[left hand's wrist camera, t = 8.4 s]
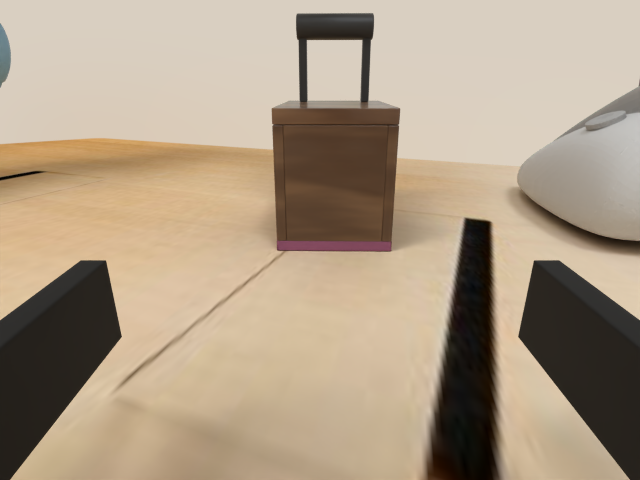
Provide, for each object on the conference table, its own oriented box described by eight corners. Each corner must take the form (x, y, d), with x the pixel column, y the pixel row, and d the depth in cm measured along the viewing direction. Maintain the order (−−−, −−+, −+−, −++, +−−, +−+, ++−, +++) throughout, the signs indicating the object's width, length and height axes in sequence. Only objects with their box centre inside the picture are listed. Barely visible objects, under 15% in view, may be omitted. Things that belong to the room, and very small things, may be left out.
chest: (290, 206, 45) (288, 113, 41) (374, 206, 45) (378, 113, 41) (277, 250, 33) (272, 125, 29) (390, 251, 33) (399, 125, 29)
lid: (288, 112, 42) (286, 18, 39) (378, 112, 42) (382, 17, 39) (272, 124, 29) (266, -13, 26) (399, 124, 29) (408, -14, 26)
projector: (761, 214, 41) (825, 56, 36) (808, 299, 25) (938, 34, 20) (527, 182, 55) (550, 63, 49) (459, 224, 38) (481, 54, 33)
